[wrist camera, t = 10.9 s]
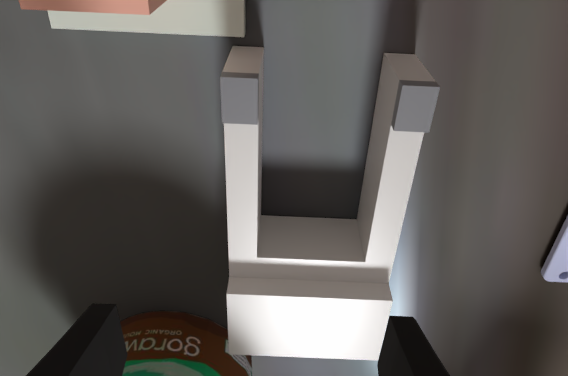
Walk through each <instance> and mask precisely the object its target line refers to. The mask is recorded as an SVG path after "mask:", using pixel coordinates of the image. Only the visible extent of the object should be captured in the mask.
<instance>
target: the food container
mask: <svg viewBox="0 0 568 376" xmlns="http://www.w3.org/2000/svg"><path fill="white" fill-rule="evenodd" d="M120 324H121V328H122V332H123V337H124V341H125V345H126V349H127V354H128V355H127V359H126V363H125V367H124V371H123V375H122V376H252V362H251V356H250V355H233V354H229V344H228V329H226V328H224V327H222V326H221V325H219V324H217V323H215V322H213V321H211V320H210V319H206V318H203V317H199V316H196V315H192V314H189V313H185V312H174V311H152V312H146V313H141V314H137V315H134V316H131V317H128V318H127V319H125V320H123V321H121V322H120Z"/></svg>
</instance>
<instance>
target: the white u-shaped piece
mask: <svg viewBox="0 0 568 376" xmlns="http://www.w3.org/2000/svg"><path fill="white" fill-rule="evenodd" d="M263 74H264V47H247V46H232V49H231V51H230V54H229V56H228V59H227V61H226V64H225V66H224V69H223V71H222V74H221V76H220V86H221V113H222V123H224V137H225V166H226V195H227V224H228V253H229V282H228V288H227V319H228V344H229V354H233V355H258V356H283V357H307V358H332V359H357V360H378V358H379V354H380V350H381V346H382V342H383V338H384V334H385V330H386V326H387V322H388V318H389V314H390V310H391V306H392V302H393V300H392V296H391V292H390V288H389V280H390V275H391V271H392V267H393V263H394V258H395V254H396V250H397V246H398V241H399V237H400V233H401V228H402V224H403V220H404V216H405V211H406V207H407V203H408V199H409V194H410V190H411V186H412V182H413V177H414V173H415V169H416V164H417V160H418V156H419V152H420V147H421V143H422V139H423V135H424V132H429V131H430V127H431V123H432V119H433V115H434V110H435V106H436V102H437V98H438V94H439V90H440V86H439V85H438V84H437V82H436V81H435V80H434V78H433V77H432V76H431V75H430V73H429V72H428V71H427V69H426V68H425V67H424V65H423V64H422V63H421V61H420V60H419V59H418V57H417V56H416V55H415V54H398V53H384V55H383V62H382V68H381V74H380V80H379V86H378V92H377V98H376V104H375V111H374V117H373V123H372V129H371V135H370V141H369V147H368V154H367V160H366V166H365V172H364V178H363V184H362V190H361V196H360V203H359V209H358V215H357V219H336V218H313V217H290V216H267V215H261V192H262V133H263Z"/></svg>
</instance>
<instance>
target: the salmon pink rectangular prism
mask: <svg viewBox="0 0 568 376" xmlns="http://www.w3.org/2000/svg"><path fill="white" fill-rule="evenodd" d="M166 1H167V0H19V3H20V7H21V9H28V10H50V11H72V12H94V13H116V14H138V15H150V14H151V13H153V12H154V11H155V10H156V9H157V8H159V7H160V6H161V5H162V4H163V3H164V2H166Z"/></svg>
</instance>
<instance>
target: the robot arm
mask: <svg viewBox="0 0 568 376" xmlns="http://www.w3.org/2000/svg"><path fill="white" fill-rule="evenodd" d="M541 274H542V276H543V278H544V279H545V280H546V281H550V282H568V216H567V218H566V220H565V222H564V224H563V226H562V228H561V230H560V232H559V234H558V236H557V238H556V240H555V242H554V245H553V247H552V249H551V251H550V253H549V255H548V257H547V259H546V261H545V263H544V265H543V267H542V269H541ZM127 355H128V354H127V349H126V345H125V341H124V337H123V332H122V328H121V324H120V320H119V315H118V311H117V307H116V305H114V304H92V305H91V306H89V307H88V309H87V310H86V311H85V312H84V313H83V314H82V315H81V316H80V318H79V319H78V320H77V321H76V322H75V323H74V324H73V325H72V327H71V328H70V329H69V330H68V331H67V332H66V333H65V334H64V336H63V337H62V338H61V339H60V340H59V341H58V342H57V343H56V344H55V345H54V347H53V348H52V349H51V350H50V351H49V352H48V353H47V354H46V355H45V356H44V357H43V358H42V359H41V360H40V361H39V363H38V364H37V365H36V366H35V367H34V368H33V369H32V370H31V371H30V372H29V373H28V374H27V375H26V376H122V375H123V371H124V367H125V363H126V359H127ZM377 365H378V374H379V376H450V375H449V373H448V372H447V370H446V369H445V367H444V366H443V364H442V363H441V361H440V359H439V358H438V356H437V355H436V353H435V352H434V350H433V348H432V347H431V345H430V343H429V342H428V340H427V338H426V337H425V335H424V333H423V332H422V330H421V328H420V327H419V325H418V323H417V321H416V320H415V319H414V318H413V317H403V316H389V320H388V324H387V328H386V332H385V336H384V340H383V344H382V348H381V352H380V356H379V360H378V364H377Z"/></svg>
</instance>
